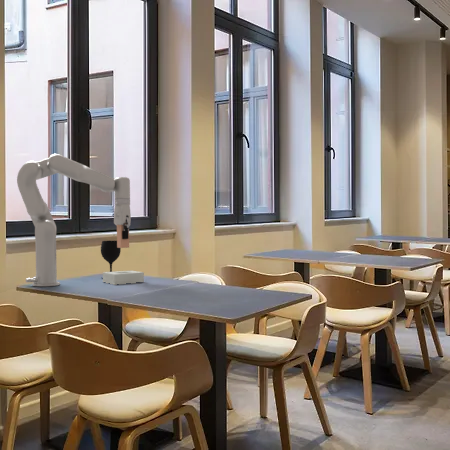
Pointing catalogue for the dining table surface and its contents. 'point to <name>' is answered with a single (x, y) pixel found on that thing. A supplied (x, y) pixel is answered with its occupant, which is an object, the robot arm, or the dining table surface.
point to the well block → (123, 277)
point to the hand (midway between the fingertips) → (123, 238)
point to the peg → (121, 242)
